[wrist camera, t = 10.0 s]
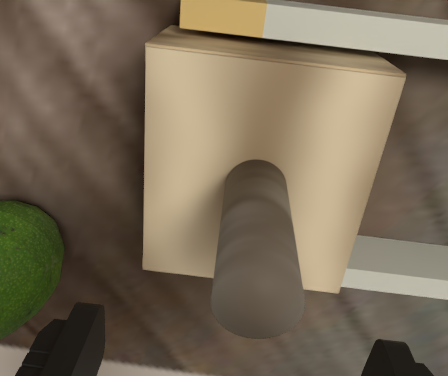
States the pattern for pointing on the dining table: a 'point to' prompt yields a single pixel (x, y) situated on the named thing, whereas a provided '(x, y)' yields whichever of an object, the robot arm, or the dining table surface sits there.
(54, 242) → the avocado
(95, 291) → the dining table surface
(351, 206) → the box with grey peg
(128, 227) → the dining table surface
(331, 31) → the frame
